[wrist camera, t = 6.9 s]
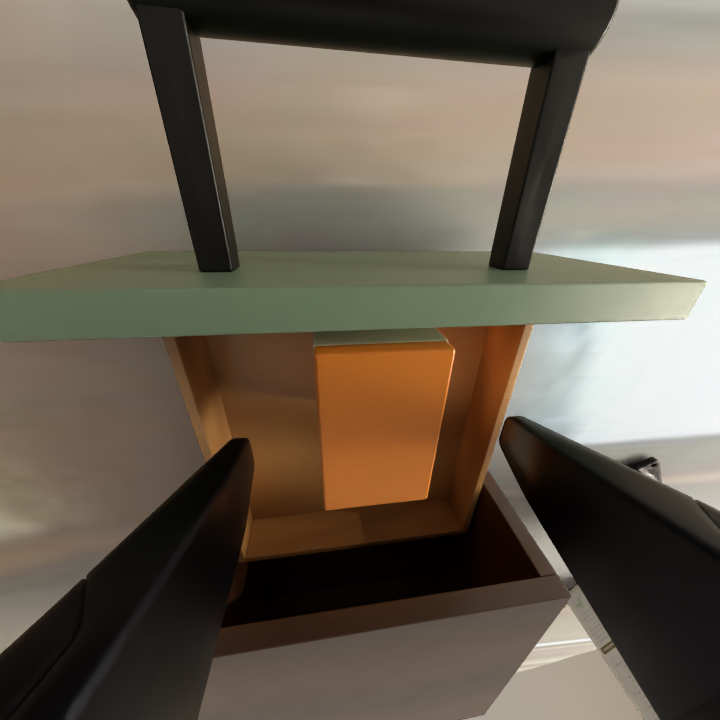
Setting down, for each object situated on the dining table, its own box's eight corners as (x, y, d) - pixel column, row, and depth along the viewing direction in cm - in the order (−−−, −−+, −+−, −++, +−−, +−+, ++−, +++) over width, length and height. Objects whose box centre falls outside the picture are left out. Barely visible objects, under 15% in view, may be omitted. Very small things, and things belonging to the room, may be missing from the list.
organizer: (223, 459, 17) (140, 670, 9) (467, 438, 19) (572, 596, 11) (261, 590, 24) (233, 770, 16) (434, 565, 26) (484, 715, 18)
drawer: (78, 37, 8) (-552, -433, 2) (578, 81, 10) (935, -105, 4) (230, 516, 18) (189, 657, 12) (463, 490, 20) (522, 601, 14)
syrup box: (561, 597, 34) (706, 826, 21) (592, 570, 32) (777, 809, 19) (594, 597, 35) (749, 811, 23) (626, 571, 33) (820, 795, 20)
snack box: (315, 291, 11) (312, 355, 6) (396, 289, 12) (458, 348, 7) (321, 400, 14) (323, 512, 9) (388, 396, 14) (428, 500, 9)
